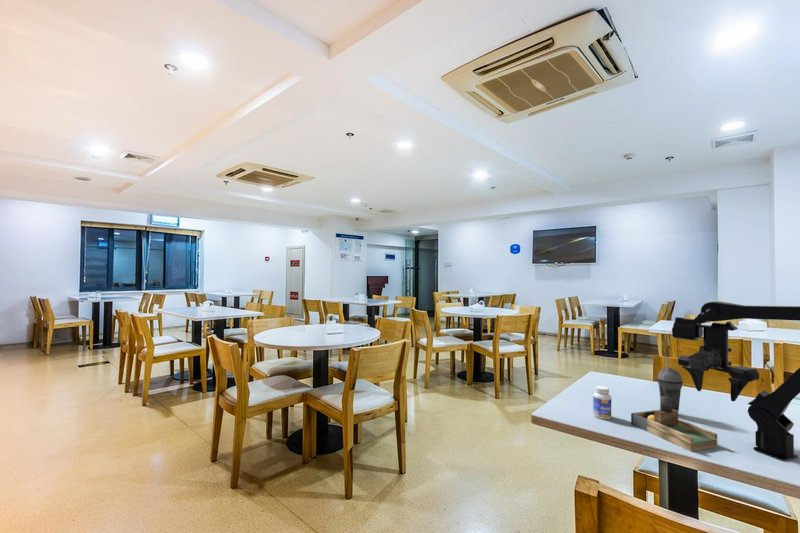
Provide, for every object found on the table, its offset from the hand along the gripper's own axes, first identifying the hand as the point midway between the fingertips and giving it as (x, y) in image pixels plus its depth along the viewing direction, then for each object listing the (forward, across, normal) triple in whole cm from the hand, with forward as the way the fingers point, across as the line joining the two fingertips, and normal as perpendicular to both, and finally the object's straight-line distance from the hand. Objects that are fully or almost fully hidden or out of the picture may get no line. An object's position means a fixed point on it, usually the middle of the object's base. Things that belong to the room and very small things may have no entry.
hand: (715, 395), depth 110 cm
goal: (+12, -11, -12) cm, 20 cm away
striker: (+10, -6, -12) cm, 17 cm away
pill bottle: (+12, -21, -21) cm, 32 cm away
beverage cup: (+12, -17, +4) cm, 21 cm away
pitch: (+12, -2, -12) cm, 17 cm away
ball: (+9, -11, -12) cm, 19 cm away
